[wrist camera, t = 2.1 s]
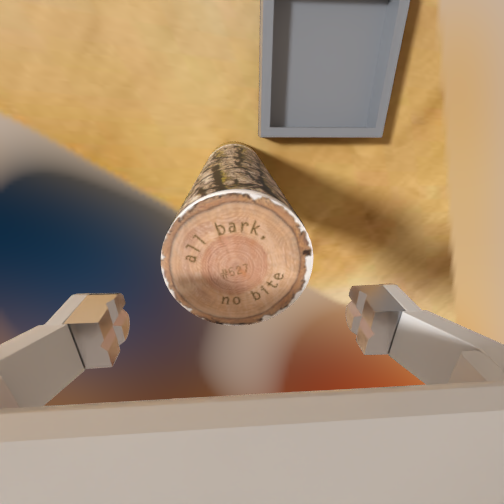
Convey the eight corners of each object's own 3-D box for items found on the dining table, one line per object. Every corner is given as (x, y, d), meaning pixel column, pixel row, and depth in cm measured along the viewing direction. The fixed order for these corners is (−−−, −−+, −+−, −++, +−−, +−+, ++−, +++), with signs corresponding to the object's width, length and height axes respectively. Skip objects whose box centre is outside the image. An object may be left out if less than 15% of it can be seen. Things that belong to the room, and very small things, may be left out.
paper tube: (200, 148, 33) (133, 215, 11) (254, 134, 33) (301, 172, 10) (216, 201, 36) (190, 338, 14) (265, 188, 36) (322, 308, 13)
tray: (260, -20, 26) (263, -36, 24) (398, -15, 27) (416, -29, 25) (258, 135, 33) (260, 137, 30) (370, 135, 34) (382, 137, 31)
